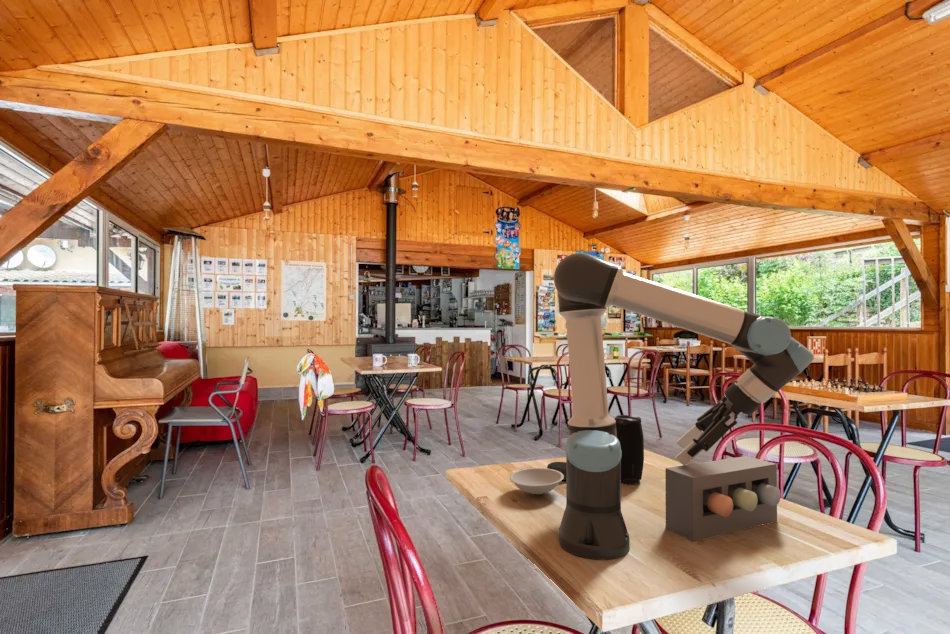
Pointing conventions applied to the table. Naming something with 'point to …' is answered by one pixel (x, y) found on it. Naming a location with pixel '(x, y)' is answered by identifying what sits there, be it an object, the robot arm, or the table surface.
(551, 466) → the smart speaker
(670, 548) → the table surface
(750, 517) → the console
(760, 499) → the grey rounded knob
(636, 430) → the portable speaker
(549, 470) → the dish
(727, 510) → the terracotta button
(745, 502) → the sage button
